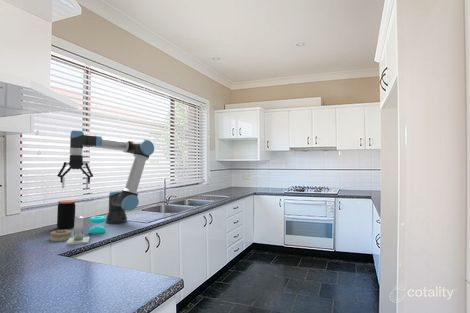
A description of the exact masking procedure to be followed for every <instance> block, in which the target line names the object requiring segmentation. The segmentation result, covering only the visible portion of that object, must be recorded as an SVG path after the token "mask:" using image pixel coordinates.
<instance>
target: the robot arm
mask: <svg viewBox="0 0 470 313" xmlns="http://www.w3.org/2000/svg"><path fill="white" fill-rule="evenodd" d="M69 138H70V139H69V140H70V142H69V146H70V148H69V154H70V155H69V162H67V161H64V162H63V165H62V167H61V169H60V170H59V171H58V174H57V175H56V177H58V178H60V183H62V184H61V186H62V187H61V188H62V189H65V181H66V180H65V176H66V175H67V174H68V173H69V172H70V171H71V170H80V171H81V172H82V173H83V174H84V175H85V176H86V179H85V180H86V182H85V185H86V186H85V188H86V189H88V188H89V184H90V182H91V178H93V177H94V174H93V172H92V170H91V168H90V166H89V162H84V155H83V154H84V147H87V148H95V149H103V150H104V149H105V150H113V151H121V152H123V153H126V154H127V153H128V154H131V155H133V157H134V158H133V160H132V161H133V162H132V165H131V168H130V170H129V171H130V172H129V174H128V178H127V181H126V184H125V186H124V188H123V189H122V190H121V191H120V190H119V191H110V192H109V193H108V195H109V196H108V212H107V215H106V216H105V217H106V221H105V223H107V224H123V223H127V222H128V217H127V213H126V211H129V212H130V211H133V210H135V209H136V208H137V207H138V206H139V201H140V200H139V197H138V196H139V193H138V191H137V190H138V189H139V185H140V182H141V178H142V176H143V171H144V167H145V164H146V161H147V160H149V159H150V156H151V155H153V154H154V152H155V145H154V143H153V141H151V140H150V139H135V140H129V139H127V140H126V139H125V140H120V139H119V140H118V139H112V138H111V139H110V138H103V137H102V136H101V135H97V134H96V135H95V134H85V132H84V131H83V130H71V131H70V137H69ZM66 166H69V167H68V168H67V169H66ZM83 166H85V167H86V169H87V171H88V172H87V171H86V170H85V169H84V168H83ZM65 169H66V170H65ZM64 170H65V171H64Z"/></svg>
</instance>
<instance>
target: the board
mask: <svg viewBox="0 0 470 313" xmlns="http://www.w3.org/2000/svg"><path fill="white" fill-rule="evenodd" d="M90 239H91V236H83V240H80V241H74V237H71V238H69V239H68V240H66V243H65V244H66V246H68V245H69V246H70V245H81V244H82V245H83V244H84V245H85V244H89V242H90Z"/></svg>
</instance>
